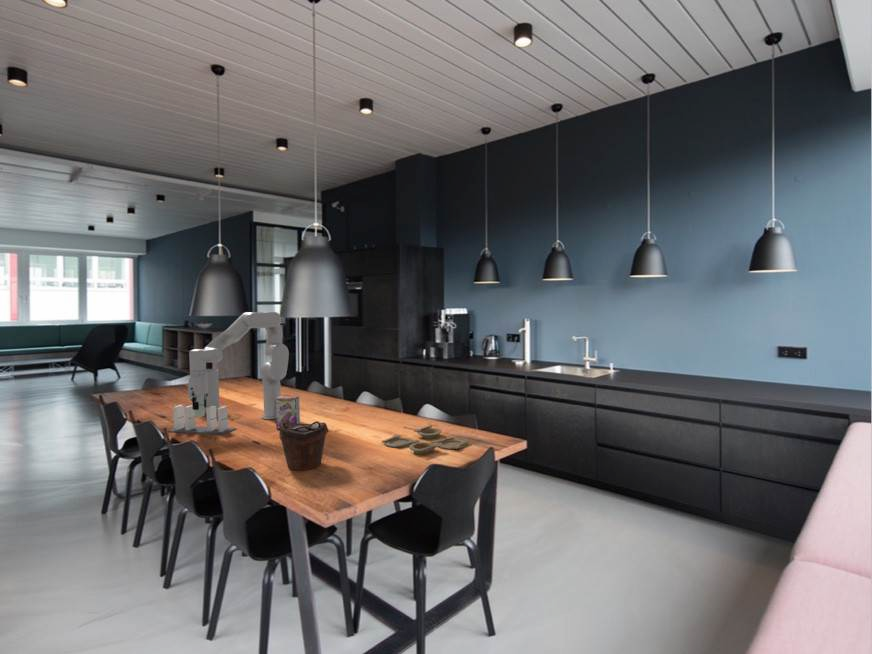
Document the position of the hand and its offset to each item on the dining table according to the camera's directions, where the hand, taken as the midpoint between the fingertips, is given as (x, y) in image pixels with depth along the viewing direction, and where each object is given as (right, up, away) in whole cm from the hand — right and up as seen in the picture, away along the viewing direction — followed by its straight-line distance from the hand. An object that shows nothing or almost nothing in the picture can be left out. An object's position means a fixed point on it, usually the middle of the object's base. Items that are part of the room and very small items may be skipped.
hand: (199, 408), depth 255 cm
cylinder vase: (-16, -10, +46) cm, 49 cm away
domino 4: (+7, -11, -1) cm, 13 cm away
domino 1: (-12, -11, +4) cm, 17 cm away
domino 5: (+13, -11, -2) cm, 17 cm away
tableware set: (+117, -12, -32) cm, 122 cm away
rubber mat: (+1, -12, +1) cm, 12 cm away
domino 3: (0, -4, 0) cm, 5 cm away
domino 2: (-6, -11, +2) cm, 13 cm away
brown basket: (+69, -14, -57) cm, 91 cm away
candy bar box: (+46, -11, +1) cm, 47 cm away
